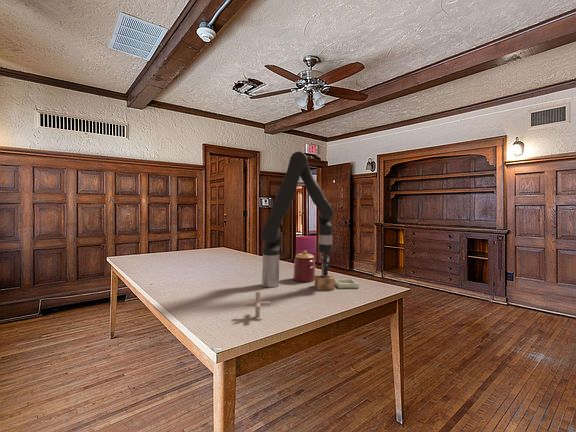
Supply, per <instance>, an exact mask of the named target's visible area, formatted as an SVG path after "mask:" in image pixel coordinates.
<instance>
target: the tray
mask: <svg viewBox="0 0 576 432" xmlns="http://www.w3.org/2000/svg"><path fill="white" fill-rule="evenodd" d="M335 287H337V288H338V289H341V290H342V289H343V290H344V289H345V290H347V289H359V287H360V285H359V282H357V281H356V280H354V279H353V278H335Z"/></svg>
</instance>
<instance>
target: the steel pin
mask: <svg viewBox="0 0 576 432" xmlns="http://www.w3.org/2000/svg"><path fill="white" fill-rule="evenodd" d="M324 263H325V262H324ZM326 266H327V265H326ZM323 270H324V268H323V264H322V266H321V275H322V278H328V275H329V274H328V275H327V276H324V275H323Z"/></svg>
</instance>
